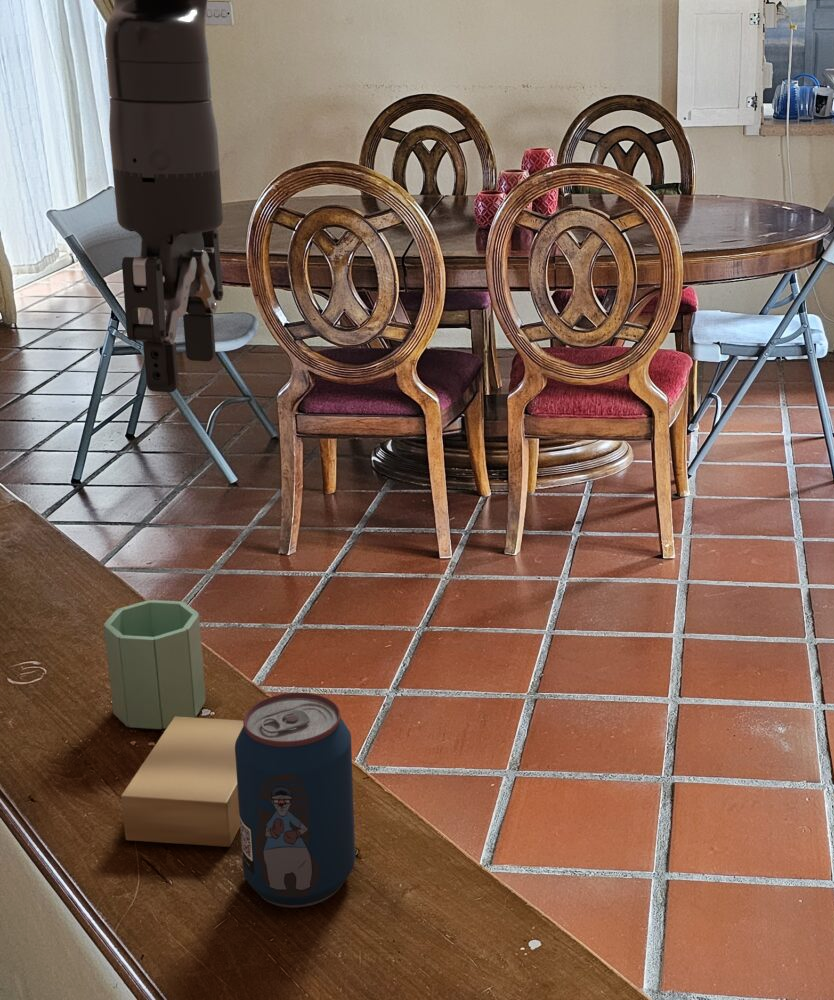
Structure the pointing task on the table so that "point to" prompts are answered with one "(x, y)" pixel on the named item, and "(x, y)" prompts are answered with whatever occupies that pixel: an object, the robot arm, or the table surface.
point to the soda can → (295, 799)
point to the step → (187, 786)
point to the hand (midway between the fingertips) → (183, 374)
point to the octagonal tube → (155, 664)
